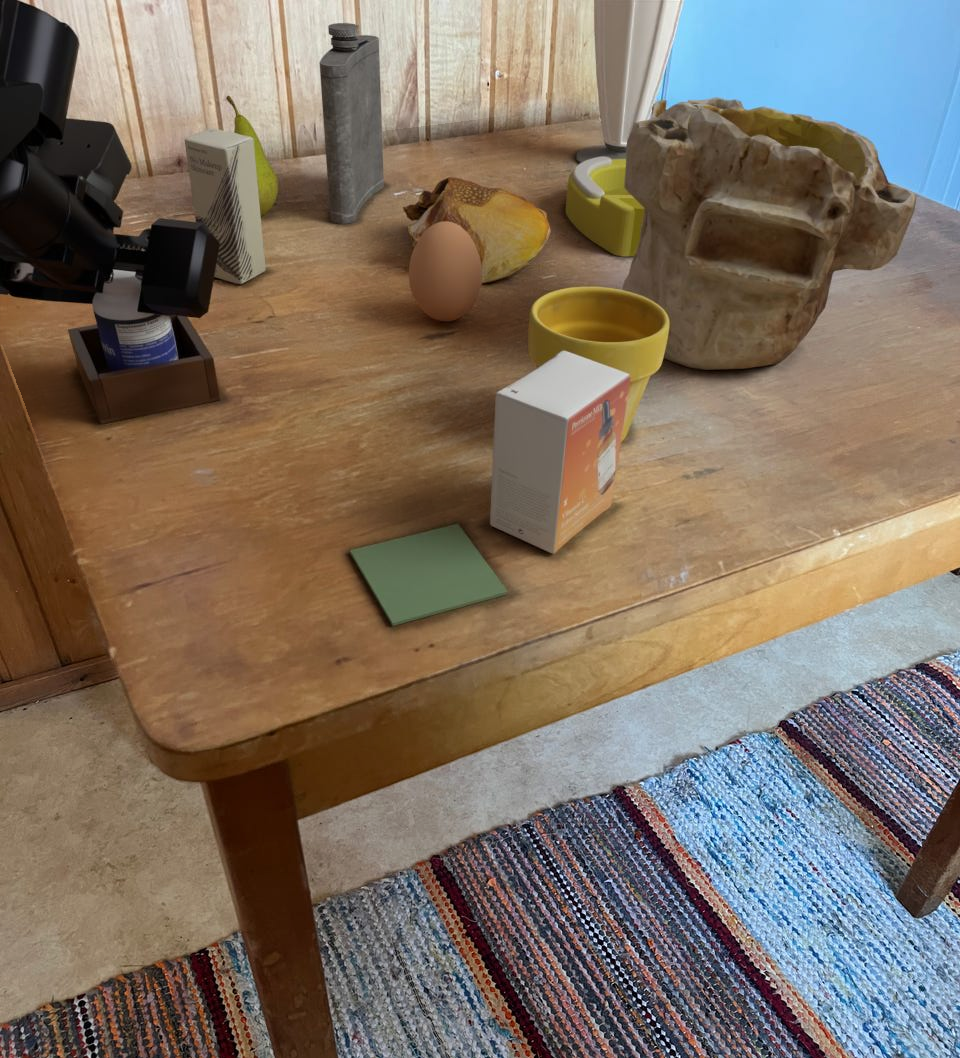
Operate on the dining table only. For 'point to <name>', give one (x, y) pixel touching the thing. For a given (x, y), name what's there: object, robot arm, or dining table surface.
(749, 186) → the ceramic vessel
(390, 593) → the mat
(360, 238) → the dining table surface
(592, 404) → the small box
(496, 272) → the seashell
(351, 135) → the flask
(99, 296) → the pill bottle
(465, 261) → the egg
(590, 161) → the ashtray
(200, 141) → the box
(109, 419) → the compartment
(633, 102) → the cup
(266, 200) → the fruit
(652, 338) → the flower pot
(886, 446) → the dining table surface
